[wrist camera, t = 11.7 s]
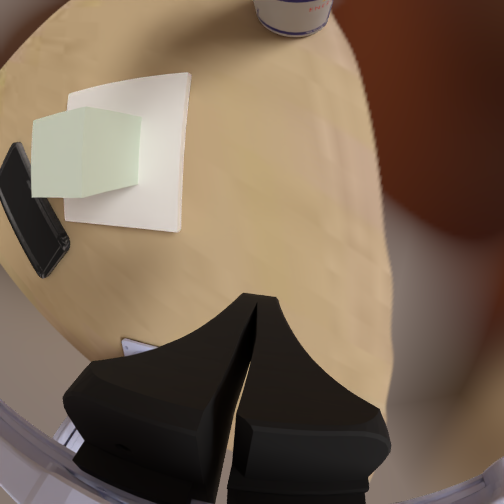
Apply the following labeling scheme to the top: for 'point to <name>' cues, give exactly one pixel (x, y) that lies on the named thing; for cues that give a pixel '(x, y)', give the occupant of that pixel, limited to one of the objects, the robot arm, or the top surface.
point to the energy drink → (293, 16)
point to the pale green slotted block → (84, 153)
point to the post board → (142, 153)
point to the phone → (31, 214)
